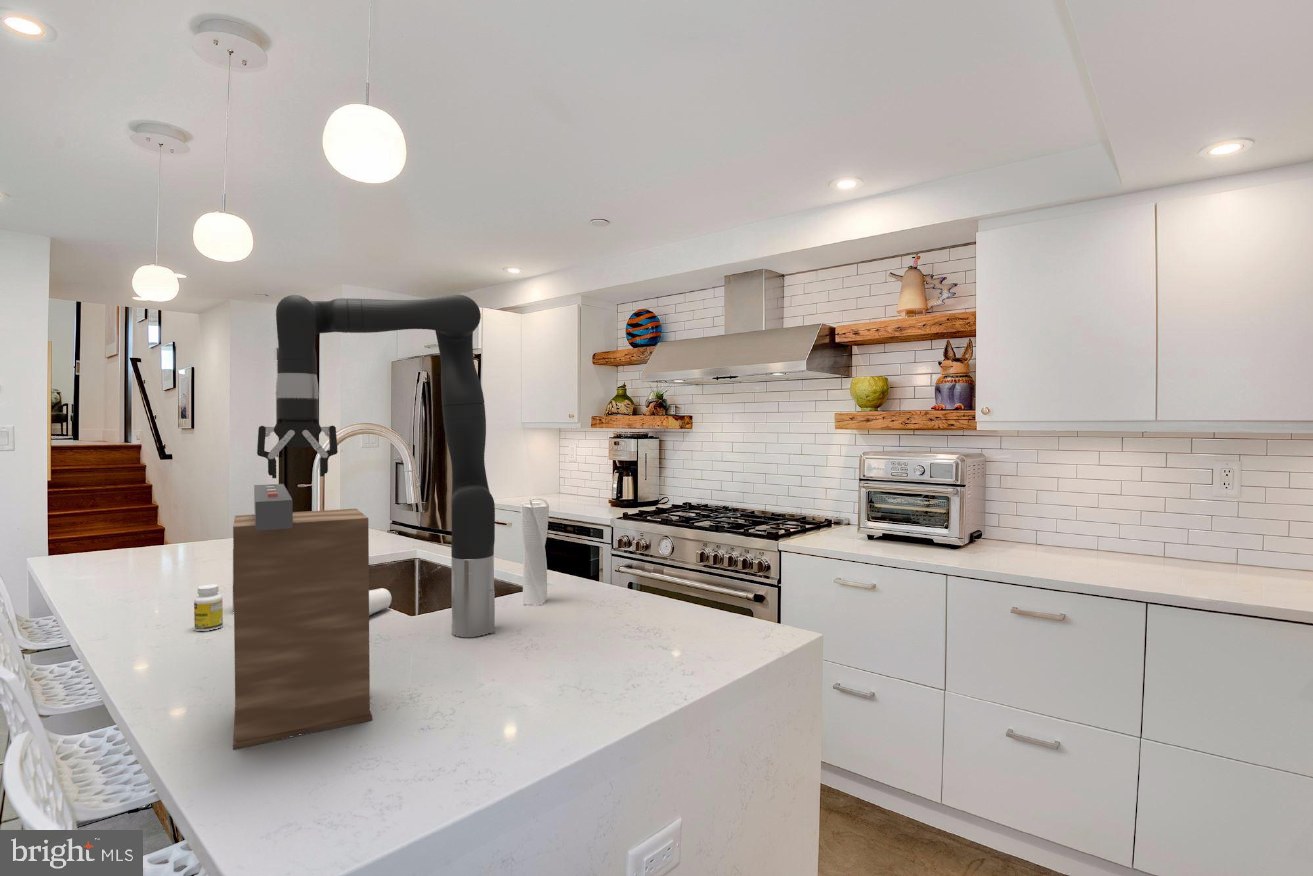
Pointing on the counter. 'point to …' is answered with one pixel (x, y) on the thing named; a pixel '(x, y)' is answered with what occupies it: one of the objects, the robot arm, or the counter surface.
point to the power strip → (272, 507)
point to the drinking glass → (378, 600)
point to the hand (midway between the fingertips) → (298, 477)
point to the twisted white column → (534, 551)
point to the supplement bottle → (208, 608)
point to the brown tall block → (301, 625)
